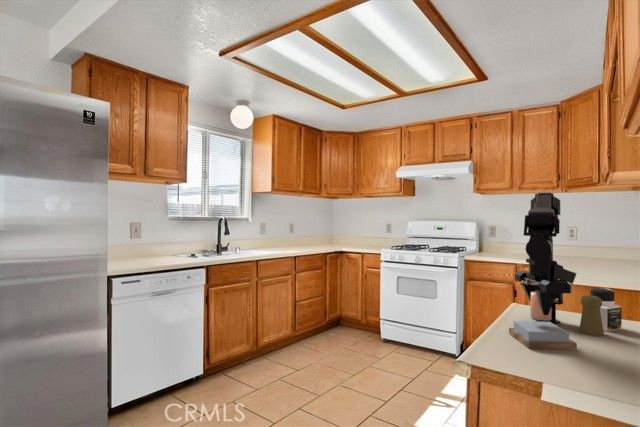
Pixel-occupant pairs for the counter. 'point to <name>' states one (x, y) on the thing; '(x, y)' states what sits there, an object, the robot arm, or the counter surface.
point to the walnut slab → (543, 343)
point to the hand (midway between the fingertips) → (540, 312)
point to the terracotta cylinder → (537, 308)
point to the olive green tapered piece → (591, 316)
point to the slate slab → (541, 331)
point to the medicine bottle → (608, 309)
